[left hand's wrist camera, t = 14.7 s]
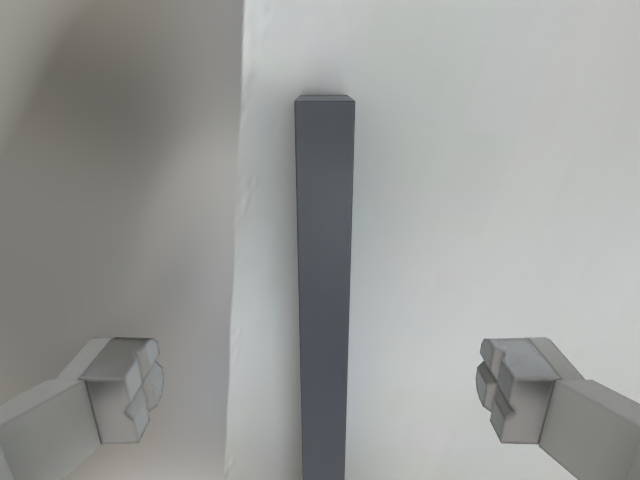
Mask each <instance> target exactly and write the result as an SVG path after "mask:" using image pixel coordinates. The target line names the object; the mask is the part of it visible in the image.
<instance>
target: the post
mask: <svg viewBox="0 0 640 480" xmlns="http://www.w3.org/2000/svg"><path fill="white" fill-rule="evenodd" d="M294 105H295V149H296V193H297V237H298V280H299V324H300V368H301V412H302V456H303V480H344V475H345V440H346V405H347V370H348V335H349V300H350V266H351V231H352V196H353V161H354V126H355V101H354V100H353V99H351V98H350V97H349V96H348V95H300V96H299V97H298V98H297V99H296V100H295V102H294Z"/></svg>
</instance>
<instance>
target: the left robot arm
mask: <svg viewBox="0 0 640 480" xmlns="http://www.w3.org/2000/svg"><path fill="white" fill-rule="evenodd" d="M159 354H160V350H159V345H158V341H157V340H156V339H154V338H119V337H116V338H113V337H95V338H92V339H90V340H89V341H88V342H87V343H86V344H85V346H84V347H83V348H82V349H81V350H80V351H79V352H78V354H77V355H76V356H75V357H74V358H73V359H72V360H71V362H70V363H69V364H68V365H67V366H66V367H65V368H64V369H63V371H62V372H61V373H60V374H59V375H58V376H57V377H56V379H55V380H47V381H45V382H43V383H41V384H39V385H37V386H35V387H33V388H31V389H29V390H27V391H25V392H23V393H21V394H19V395H17V396H15V397H13V398H11V399H9V400H7V401H5V402H3V403H1V404H0V480H62V479H63V478H64V477H66V476H67V475H68V474H69V473H70V472H72V471H73V470H74V469H75V468H76V467H77V466H79V465H80V464H81V463H82V462H83V461H85V460H86V459H87V458H88V457H89V456H90V455H92V454H93V453H94V452H95V451H96V450H98V449H99V448H100V447H101V444H130V443H139V442H140V440H141V438H142V436H143V434H144V432H145V430H146V428H147V426H148V424H149V422H150V418H149V412H150V411H151V410H153V409H154V408H155V407H157V405H158V403H159V401H160V399H161V396H162V392H163V387H164V373H163V367H162V366H161V365H160V364H159V363H158V362H157V361H156V359H157V357H158V356H159ZM480 354H481V356H482V357H483V359H484V361H483V362H482V363H481V364H480V365H479V366H478V367H477V374H476V387H477V392H478V396H479V399H480V401H481V403H482V405H483V407H485V408H486V409H487V410H489V411H490V412H491V418H490V422H491V424H492V426H493V428H494V430H495V432H496V434H497V436H498V438H499V440H500V442H501V443H509V444H539V447H540V448H541V449H543V450H544V451H545V452H546V453H547V454H549V455H550V456H551V457H552V458H553V459H554V460H556V461H557V462H558V463H559V464H560V465H562V466H563V467H564V468H565V469H566V470H567V471H569V472H570V473H571V474H572V475H573V476H574V477H576V478H577V479H578V480H640V404H639V403H637V402H635V401H633V400H631V399H629V398H627V397H625V396H623V395H621V394H619V393H617V392H615V391H613V390H611V389H609V388H607V387H605V386H603V385H601V384H599V383H597V382H595V381H593V380H585V379H584V377H583V376H582V375H581V374H580V373H579V372H578V371H577V369H576V368H575V367H574V366H573V365H572V364H571V363H570V362H569V360H568V359H567V358H566V357H565V356H564V355H563V354H562V352H561V351H560V350H559V349H558V348H557V347H556V346H555V344H554V343H553V342H552V341H551V340H550V339H548V338H546V337H532V338H502V339H484V340H483V342H482V344H481V349H480Z"/></svg>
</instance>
